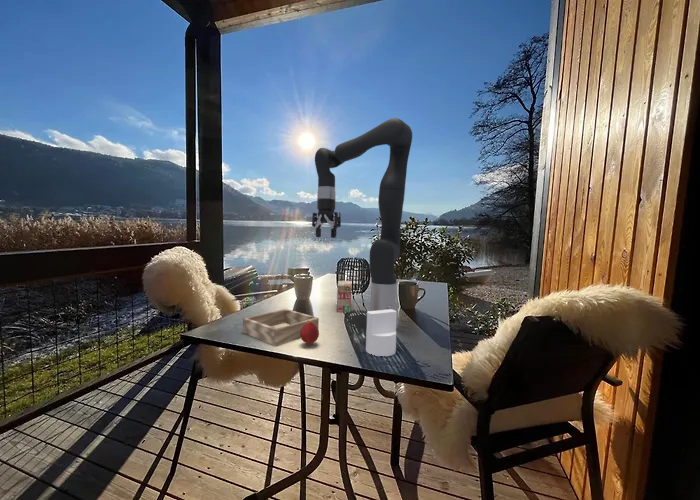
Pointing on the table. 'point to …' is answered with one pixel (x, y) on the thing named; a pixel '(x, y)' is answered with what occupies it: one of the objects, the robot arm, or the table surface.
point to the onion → (309, 333)
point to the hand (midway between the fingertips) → (325, 237)
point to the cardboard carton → (344, 296)
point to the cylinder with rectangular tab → (381, 332)
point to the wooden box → (276, 336)
